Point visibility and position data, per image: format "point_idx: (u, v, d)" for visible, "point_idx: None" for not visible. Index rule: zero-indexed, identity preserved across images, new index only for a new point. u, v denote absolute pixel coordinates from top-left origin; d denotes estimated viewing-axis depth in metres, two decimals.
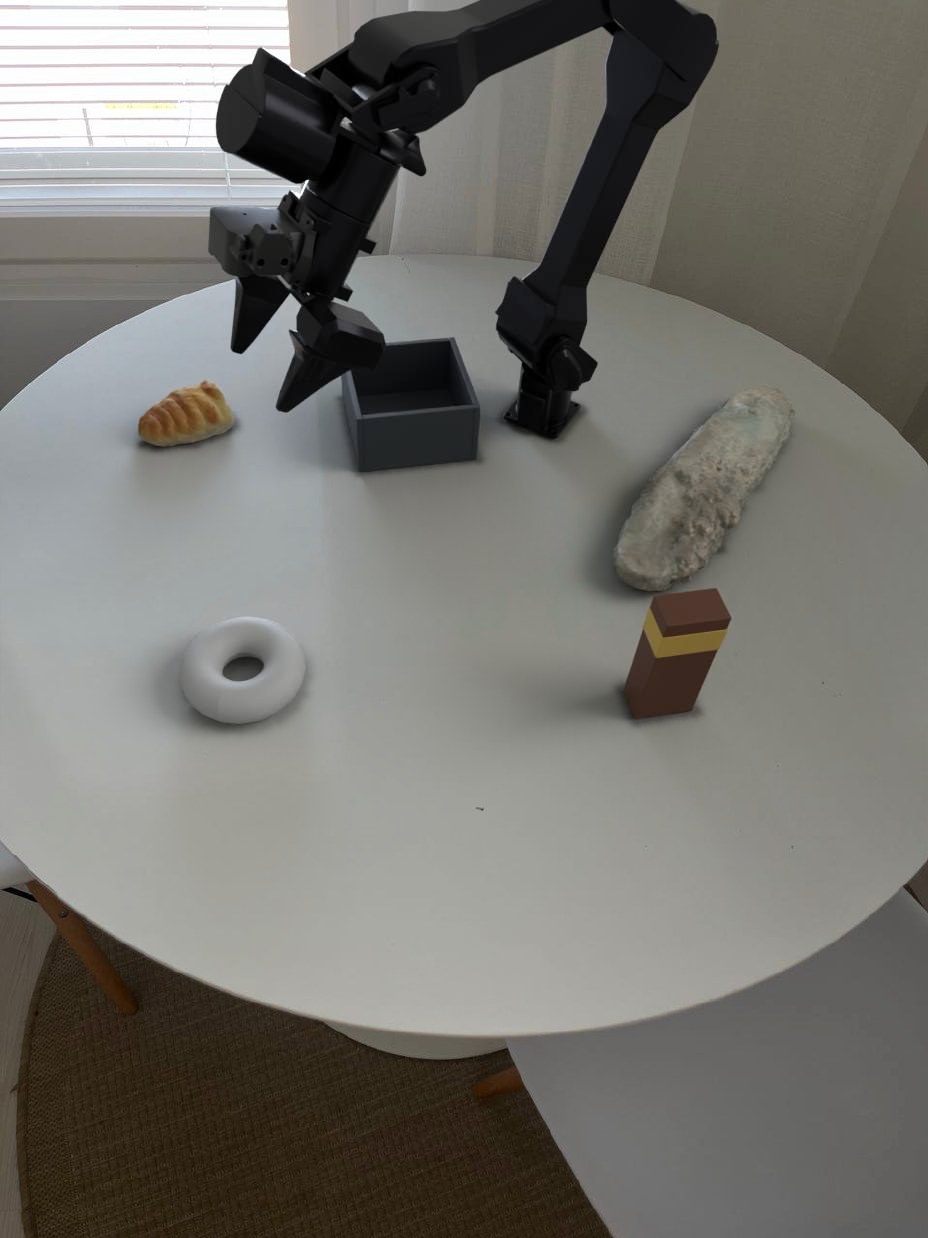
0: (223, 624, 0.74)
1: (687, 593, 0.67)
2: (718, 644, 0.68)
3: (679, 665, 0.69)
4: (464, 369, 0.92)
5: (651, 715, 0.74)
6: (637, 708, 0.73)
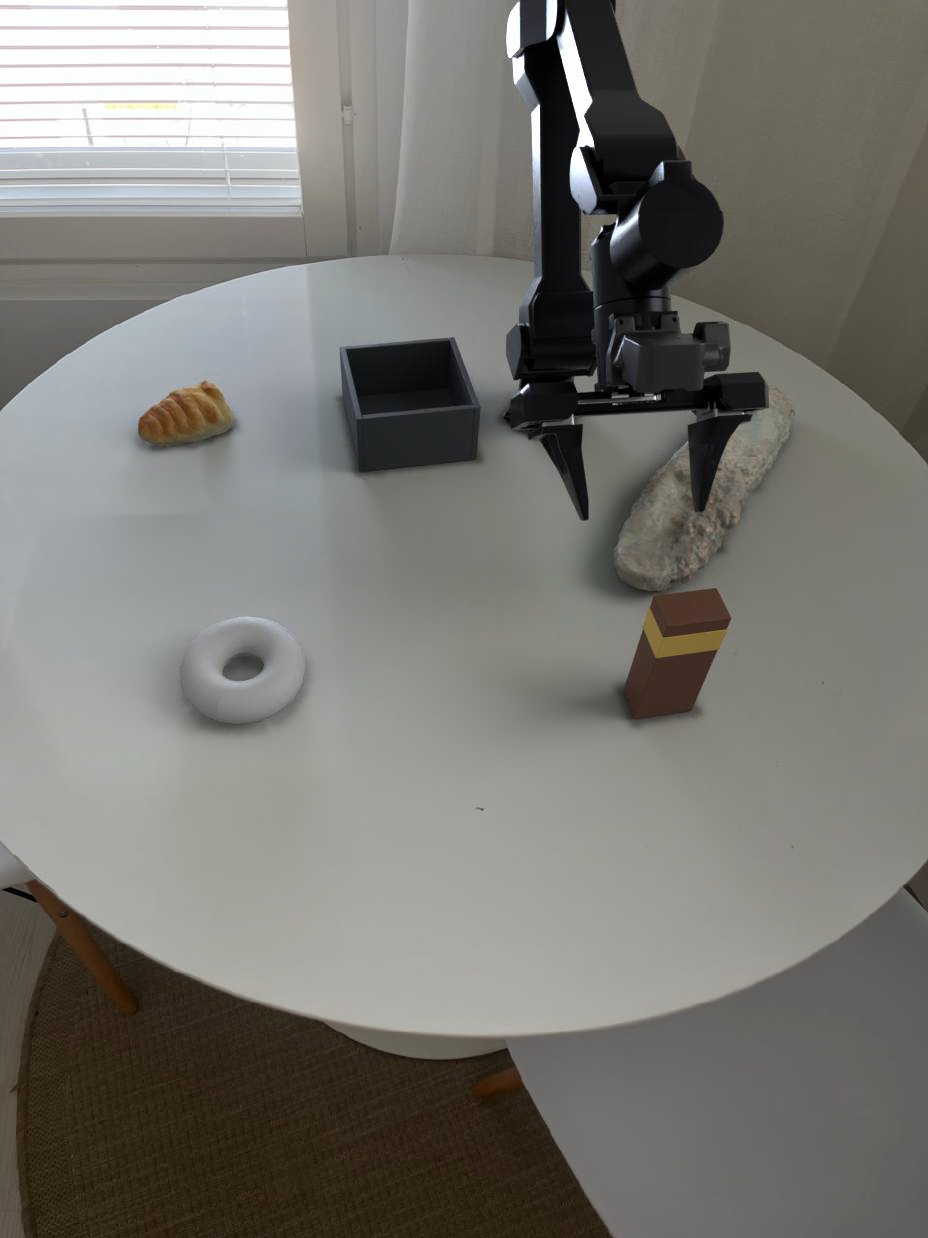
0: (223, 624, 0.74)
1: (687, 593, 0.67)
2: (718, 644, 0.68)
3: (679, 665, 0.69)
4: (464, 369, 0.92)
5: (651, 715, 0.74)
6: (637, 708, 0.73)
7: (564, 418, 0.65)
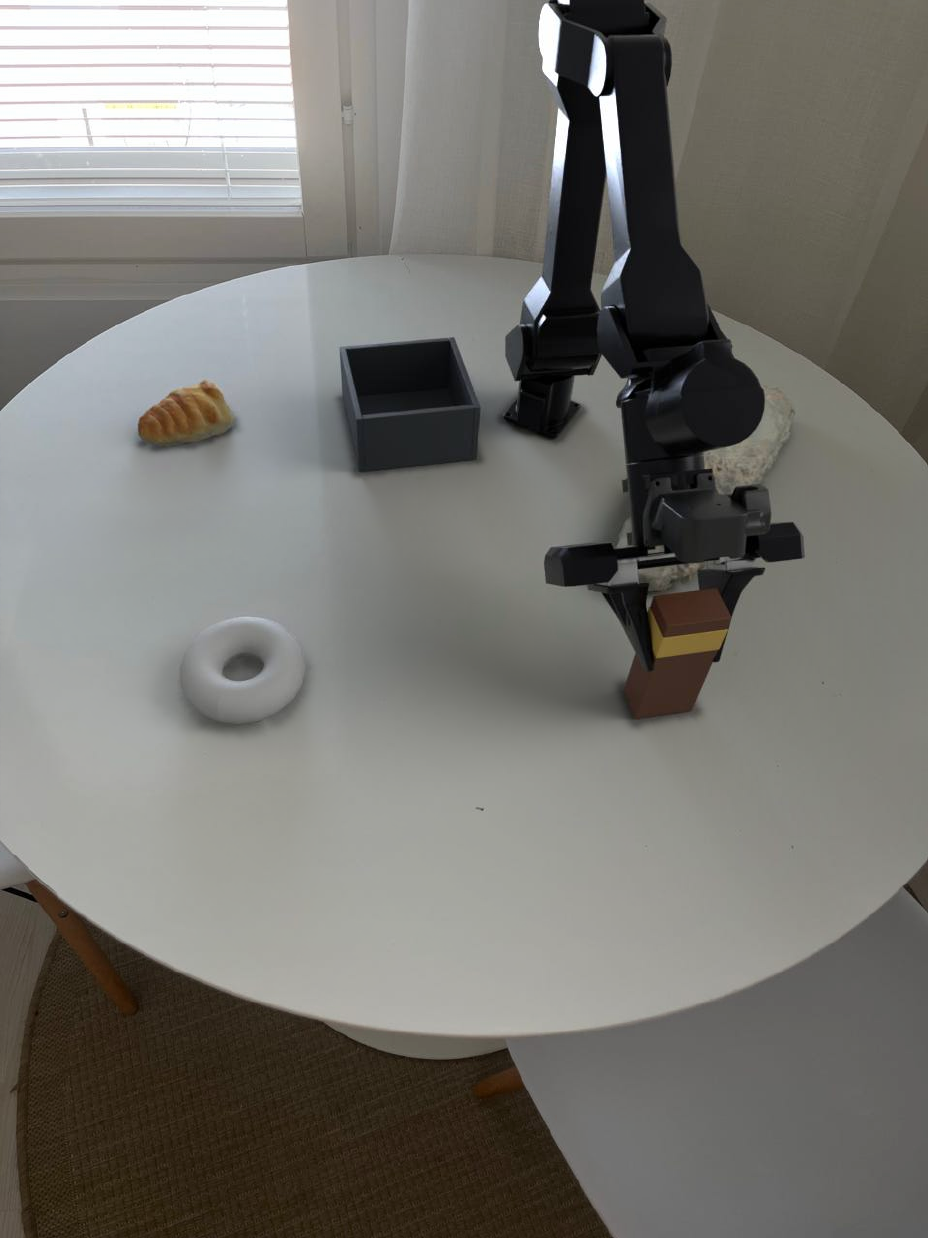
0: (223, 624, 0.74)
1: (687, 593, 0.67)
2: (718, 644, 0.68)
3: (679, 665, 0.69)
4: (464, 369, 0.92)
5: (651, 715, 0.74)
6: (637, 708, 0.73)
7: (604, 581, 0.65)
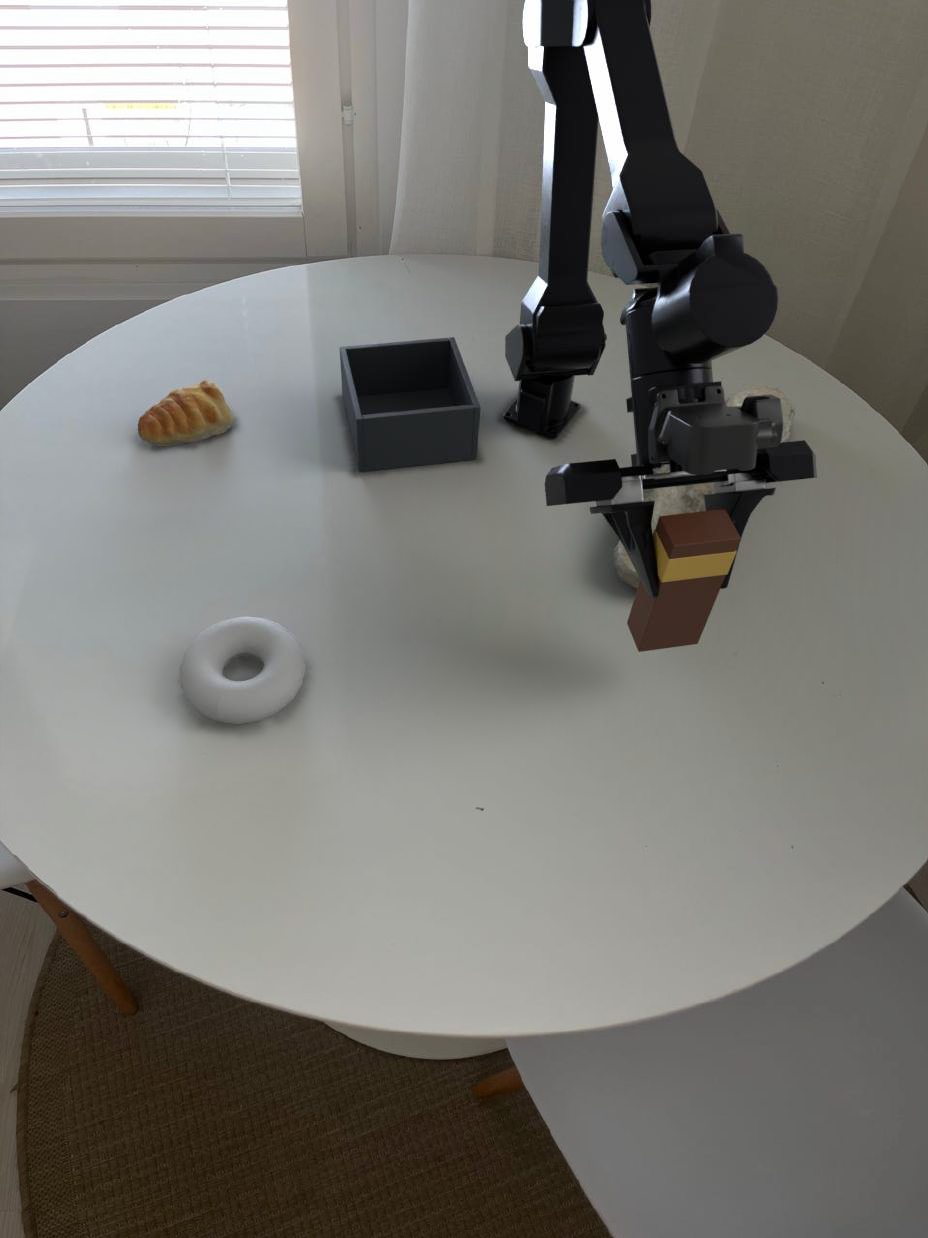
0: (223, 624, 0.74)
1: (694, 514, 0.64)
2: (726, 568, 0.65)
3: (686, 591, 0.66)
4: (464, 369, 0.92)
5: (656, 648, 0.71)
6: (642, 639, 0.70)
7: (608, 499, 0.62)
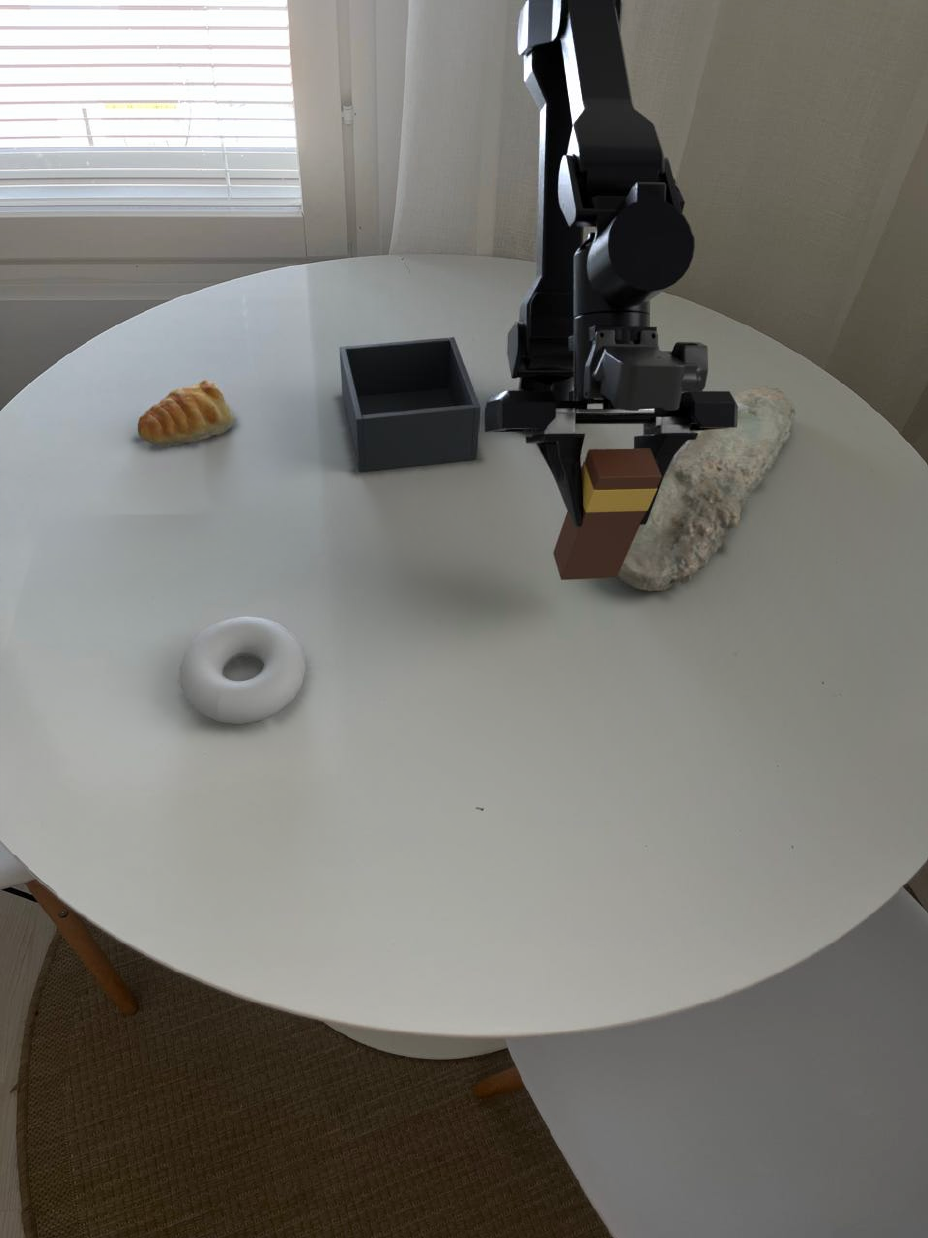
0: (223, 624, 0.74)
1: (621, 450, 0.68)
2: (647, 505, 0.70)
3: (608, 523, 0.71)
4: (464, 369, 0.92)
5: (577, 577, 0.76)
6: (564, 568, 0.74)
7: (541, 427, 0.66)
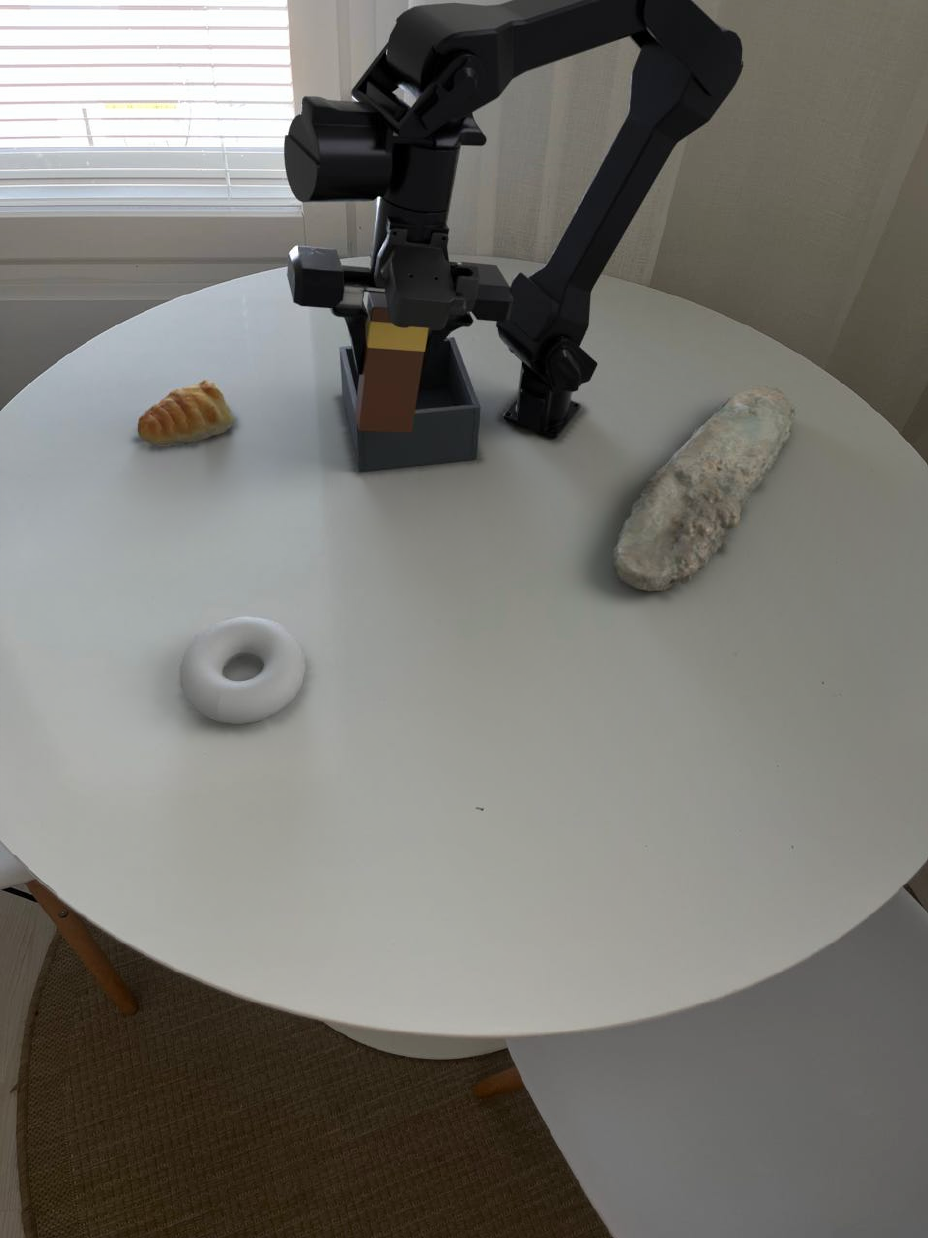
0: (223, 624, 0.74)
1: None
2: (423, 344, 0.79)
3: (391, 364, 0.80)
4: (464, 369, 0.92)
5: (374, 429, 0.84)
6: (360, 415, 0.83)
7: (329, 306, 0.74)
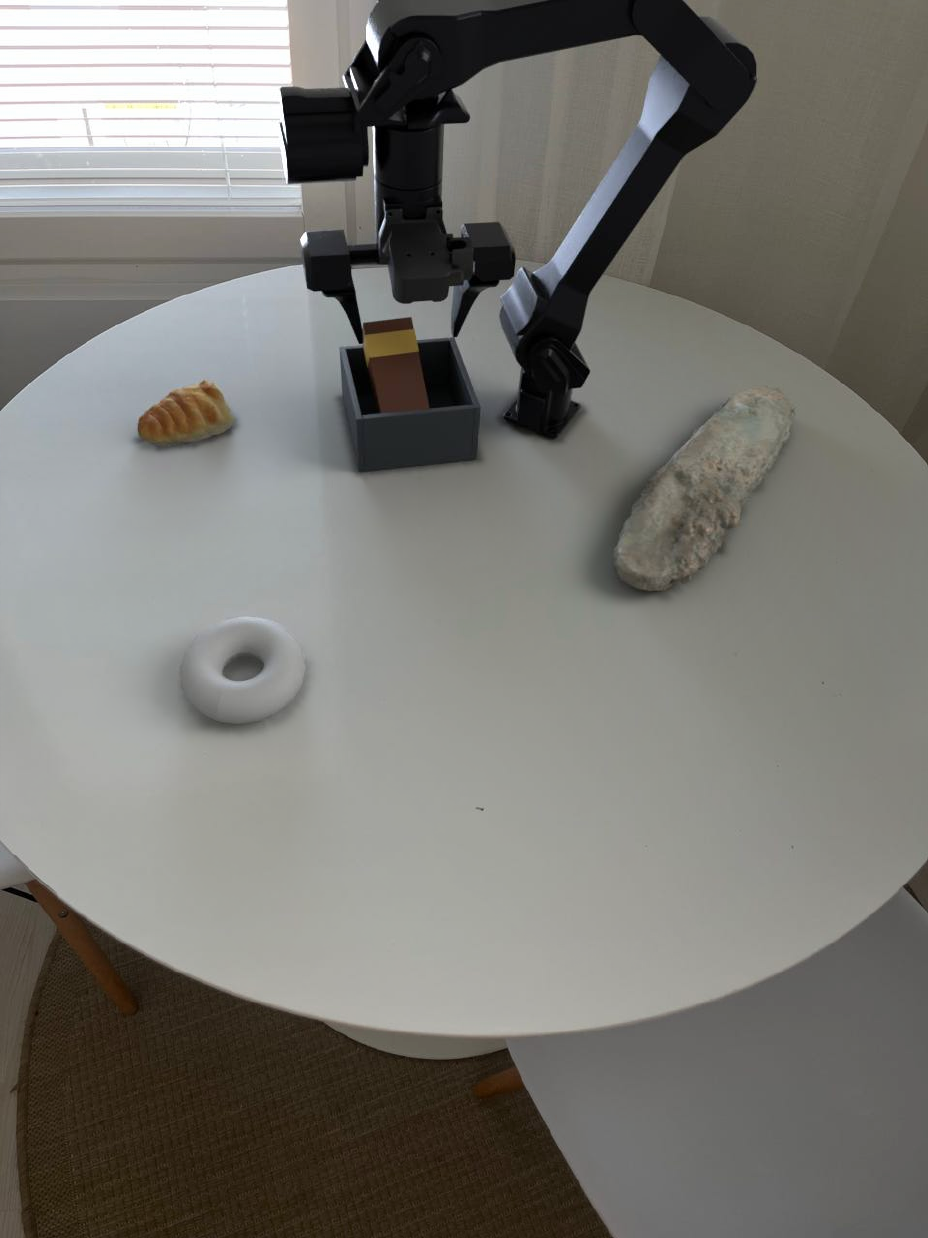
0: (223, 624, 0.74)
1: None
2: (415, 345, 0.92)
3: (394, 368, 0.91)
4: (464, 369, 0.92)
5: None
6: None
7: (340, 288, 0.79)
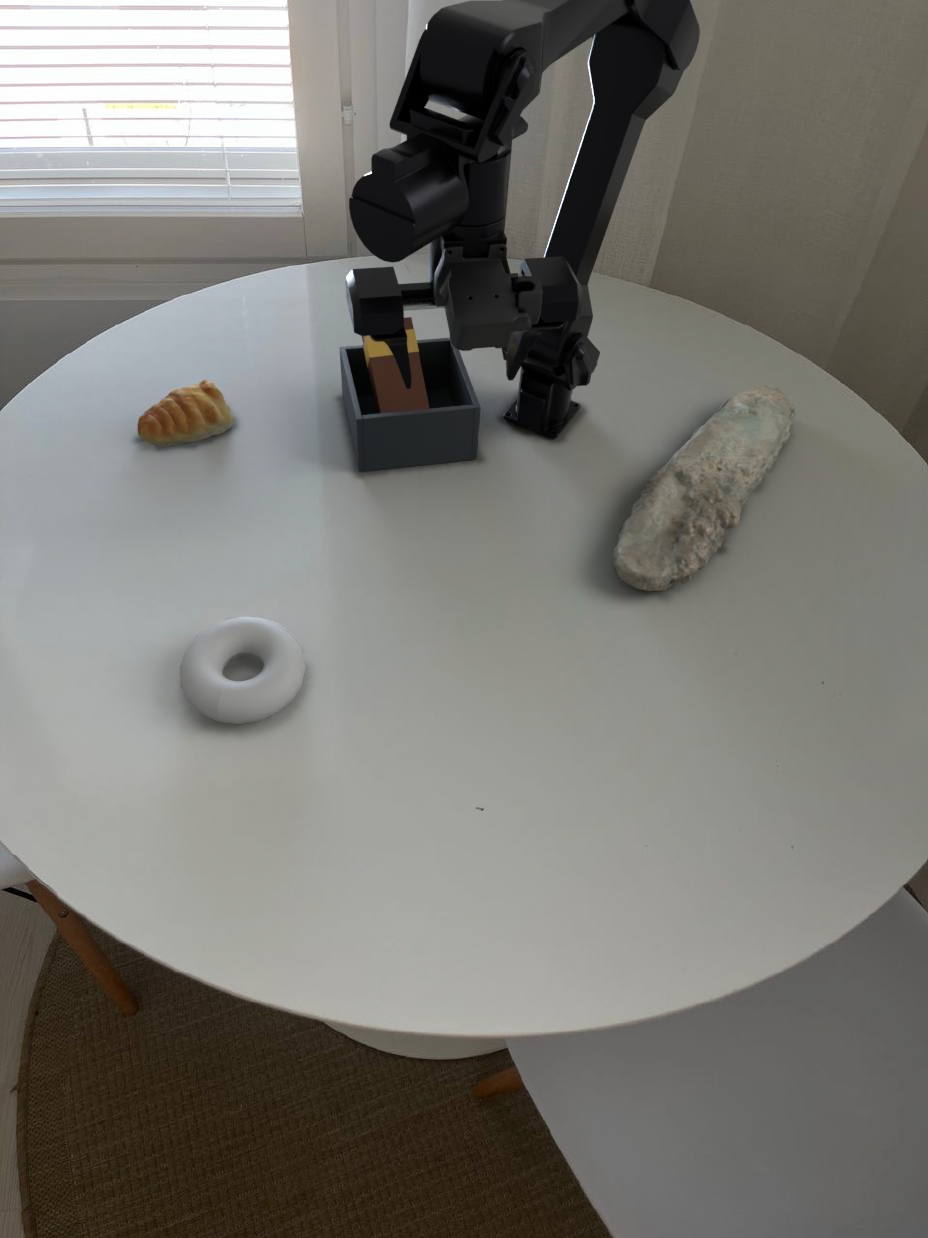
0: (223, 624, 0.74)
1: None
2: (415, 345, 0.92)
3: (394, 368, 0.91)
4: (464, 369, 0.92)
5: None
6: None
7: (390, 332, 0.72)
